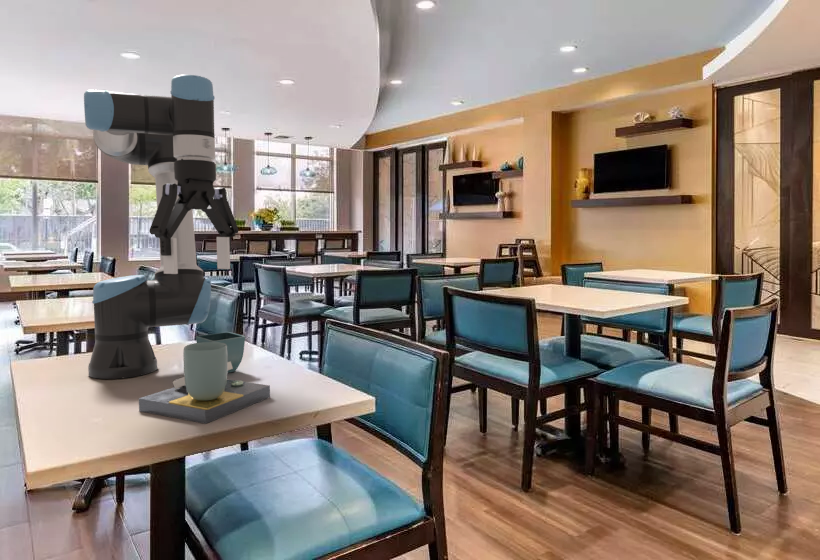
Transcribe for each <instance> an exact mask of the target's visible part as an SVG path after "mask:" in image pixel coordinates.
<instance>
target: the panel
mask: <svg viewBox="0 0 820 560" xmlns="http://www.w3.org/2000/svg"><path fill="white" fill-rule="evenodd" d="M269 398H271V386H270V385H269V384H268V385H267V384H263V383H256V382H248V381H243V380H233V379H228V378H227V383H226V388H225V390H224V392H223V394H222V395H221V396H220V397H218V398H216V399H213V400H208V401H200V400H195V399H193V398H191V397H190V396H189V394H188V392H187V390H186V386H183V387H180V388H177V389H175V387H174V386H173V387H171V388H168V389H167V388H166V389H164V390H160V391H159V392H154V393H152V394H148V395H146V396H142V397H139V398H138V412H142V413H147V414H153V415H158V416H164V417H169V418H173V419H179V420H184V421H190V422H193V423H194V422H195V423H200V424H204V425H206V424H208V423H211V422H213V421H216V420H218V419H221V418H223V417H226V416H228V415H230V414H232V413H235V412H237V411H240V410H243V409H245V408H248V407H250V406H253V405H255V404H257V403H260V402H262V401H266V400H267V399H269Z"/></svg>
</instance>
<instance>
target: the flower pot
mask: <svg viewBox="0 0 820 560" xmlns="http://www.w3.org/2000/svg"><path fill="white" fill-rule="evenodd" d="M201 342H219V343H224V344H226V345H227V360H228V362H230V361H231V364H232V367H233V369H231V370H228V371H227V374H229V373H235V372H236V371H237V370H238V368H239V367H240V365H241V362H242V360H243V357H244V352H245V342H246V336H245V335H242V334H239V333H235V332H230V331H223V332H217V333H211V334H209V333H208V334H202V335H196V336H195V343H201Z"/></svg>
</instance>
